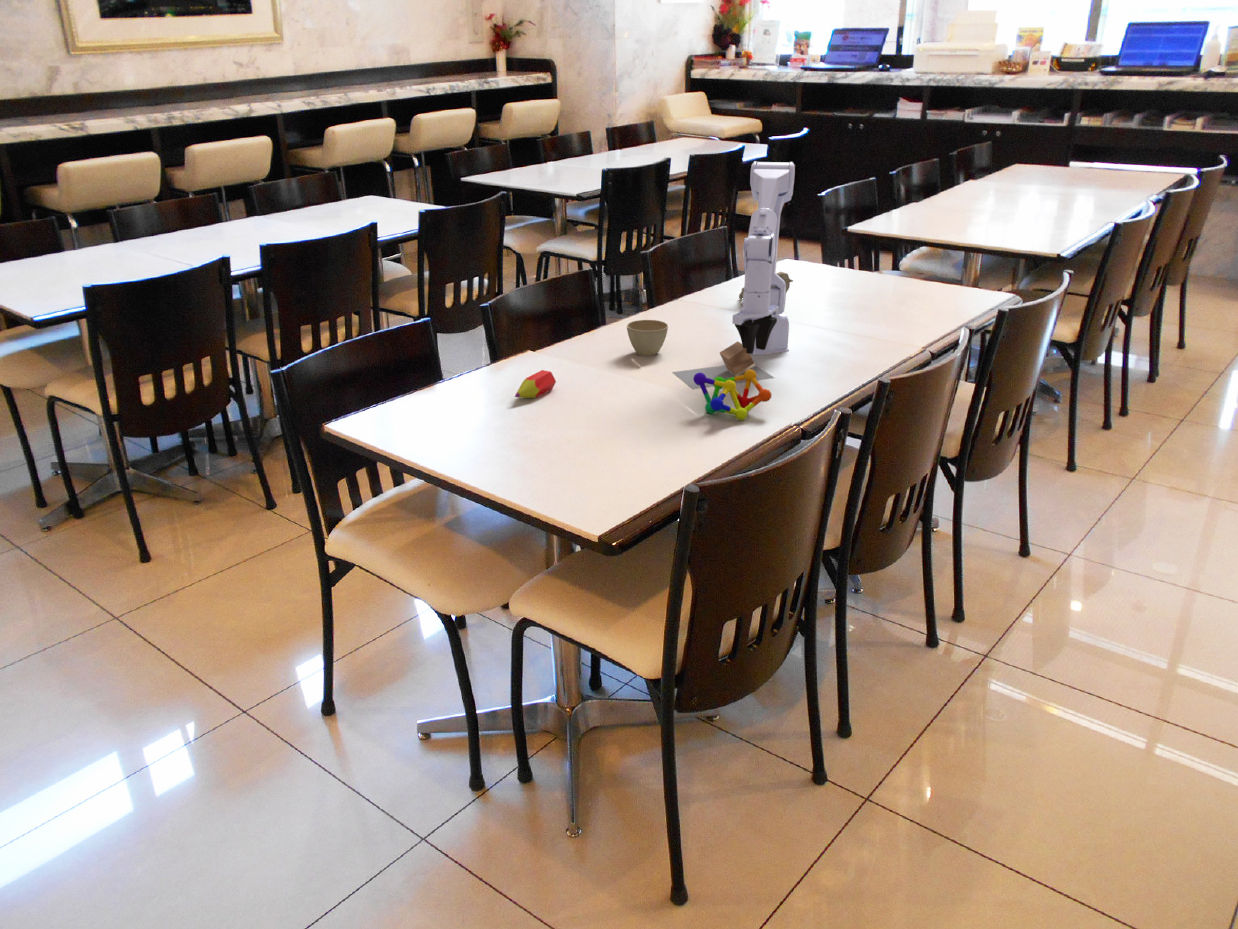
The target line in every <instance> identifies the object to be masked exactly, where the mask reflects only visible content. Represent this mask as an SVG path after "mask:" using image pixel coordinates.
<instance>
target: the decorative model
mask: <svg viewBox="0 0 1238 929" xmlns="http://www.w3.org/2000/svg"><path fill="white" fill-rule="evenodd" d="M756 376H757V375H756V372H755V371H754V370H751V369H749V370H747V371H745V373H744V375H740V376H736V377H732V378H728V379H724V378H722V377H716V378H715V379H710V378H706V376H705V374H703V373H697V374H695V376H694V378H693V380H694V382H695V384H697V385H700V387H701V388H700V389H701V391H702V394H703V397H704V399H705V402H706V404H705V406H704V409H705V411H706V412H707V414H710V415H713V414H716V413H717V412H718V413H722V414H723V413H724V414H727V415H730V416H731V415H732V416H734V418H735V419H736V420H737V421H744V420H746V419H747V417H748V412H750V411H751V410H752V409H753V408H755V407H756V406H757V405H758V404H760V403H761V402H769V401H770V400H771V399H772V393H771V391H770V390H769V389H767V388H763V387H762V386H761V384H760V382H758V381H759V380H756ZM740 380H746V382H745V386H744V388H743V393H742V395H741V394H740V393H739V391H738V390H737V383H735V382H736V381H740ZM704 383H708V384H712V385H713V386H712V387H714V390H713V393H712V397H711V396H710V394H709V391H708V389H707V387H706V386H705V384H704ZM751 383H752V384H753V386H754V387H755V388H756V389H757V391H758V394H757V395H754V396H751V397H749V398H748V396H749V392H750V388H751ZM722 389H723V390H722ZM720 390H722V391H721V392H720ZM728 394H729V395H730V397H731V400H732V402H733V404H734V407H735V408H734V407H732V406H730V405H727V404H725V402H724V399H725V398H726V396H727V395H728Z"/></svg>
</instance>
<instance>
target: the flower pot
mask: <svg viewBox="0 0 1238 929" xmlns="http://www.w3.org/2000/svg"><path fill="white" fill-rule="evenodd" d="M668 328H669V324H668V323H666V322H665V321H661V320H658V319H657V320H656V319H639V320H638V319H637V320H634V321H633V320H632V321H630V322H628V323H627V324H626V331H627V334H628V338H629V342H630V344H631V347H633V350H634V351H635V353H636V354H637V355H638V356H641V357H642V356H644V357H646V356H647V357H648V356H649V357H650V356H651V357H652V356H655V355H657V354H658V353H659V352H660V351H661V349H662V347H663V345H664V342H665V340H666V337H667V334H668V330H669V329H668Z"/></svg>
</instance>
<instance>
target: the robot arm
mask: <svg viewBox="0 0 1238 929" xmlns="http://www.w3.org/2000/svg"><path fill="white" fill-rule="evenodd" d="M795 169H796V164H794V162H793V161H789V162H787V161H786V162H784V161H783V162H780V161H778V162H777V161H775V162H772V161H757V160H756V161H755V160H754V161H753V163H752V164H751V168H750V177H749V178H750V179H749V180H750V181H749V184H750V188H751V195H752V198H753V200H755V201H756V202H757V209H756V210H755V211H753V213H752V214H751V218H750V223H749V228H748V235H747V237H745V238H744V240H743V248H742V258H743V270H744V285H743V288H744V293H743V299H742V307H741V308H739V312H737V313H736V314H735V313H734V314H732V321H731V322H732V324H731V325H734V327H735V328H736V330H737V331H738V334H739V337H740V340H741V341H740V342H741V344H742V346H743V348H746V353H749V354H750V355H753V356H762V355H769V354H777V353H784V352H790V348H788V344H789V331H790V322H789V318H788V315H787V314H786V313H785V308H786V297H787V293H786V284H785V281H784V280H783V279H782V278H781V277H779V276H778V275H777V274H776V269H777V260H778V258H777V257H778V248H779V235H780V224H781V215H782V214H781V213H782V210H783V207H784V205H785V203H788V202H790V201H791V200H792V197H793V194H794V184H795V174H796V173H795V172H796V170H795ZM771 286H774V287H778V288H771Z"/></svg>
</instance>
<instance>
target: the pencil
mask: <svg viewBox="0 0 1238 929" xmlns="http://www.w3.org/2000/svg"><path fill="white" fill-rule="evenodd" d="M556 383H557V380H556V379H555V377H554V375H553V372H552V371H548V370H544V369H541V370H540V371H537V372H535V373H533V374H531V375H529V376H527V377H526V378H524V380H523V381H522V382H521V384H520V386H519V388H518V389H517V392H516V393H515V396H514V397H515V398H525V399H536V398H538V397H540V396H542V395H545V394H546V393H548V392H550V391H552V390H553V389H554V387H555V385H556Z"/></svg>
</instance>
